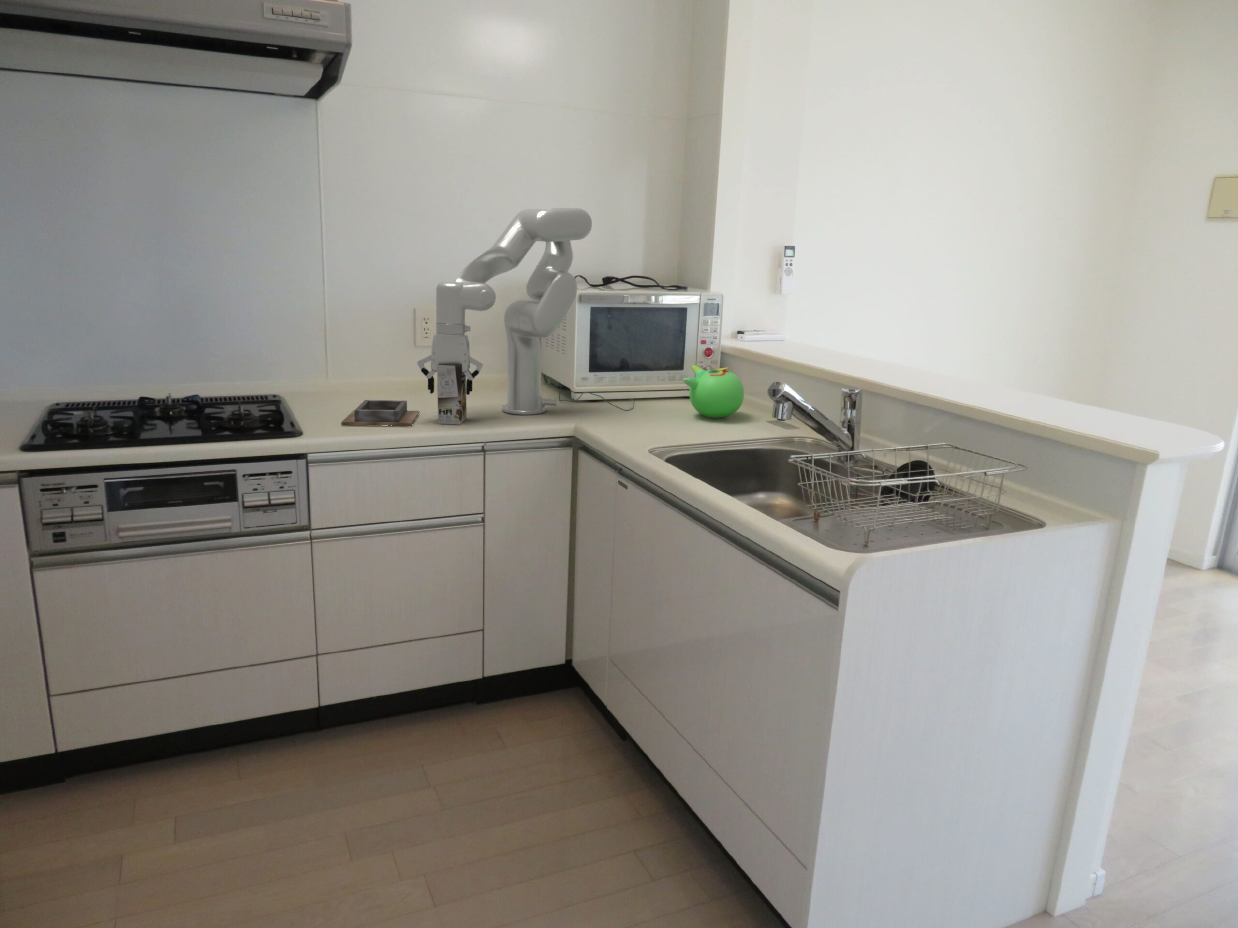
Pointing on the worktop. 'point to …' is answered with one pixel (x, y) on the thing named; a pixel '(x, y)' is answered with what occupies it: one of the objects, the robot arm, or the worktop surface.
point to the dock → (381, 414)
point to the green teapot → (715, 392)
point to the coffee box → (451, 394)
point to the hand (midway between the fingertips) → (450, 393)
